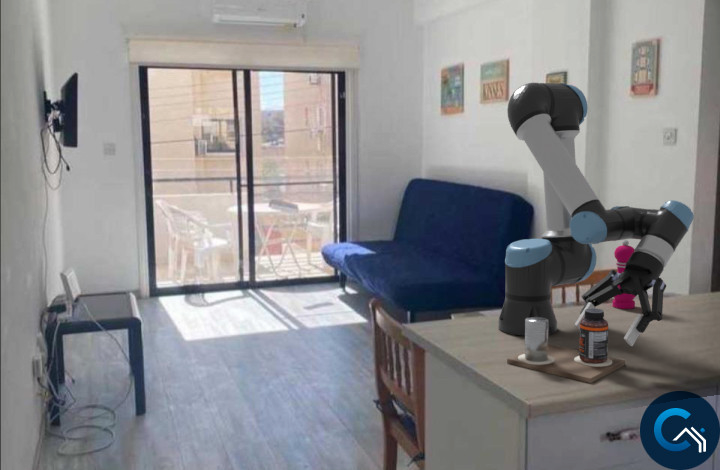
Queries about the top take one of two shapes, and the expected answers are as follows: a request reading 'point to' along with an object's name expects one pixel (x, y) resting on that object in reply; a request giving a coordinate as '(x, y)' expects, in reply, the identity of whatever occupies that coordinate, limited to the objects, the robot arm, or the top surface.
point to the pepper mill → (622, 257)
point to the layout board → (568, 364)
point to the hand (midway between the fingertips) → (602, 335)
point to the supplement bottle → (593, 337)
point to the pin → (536, 339)
